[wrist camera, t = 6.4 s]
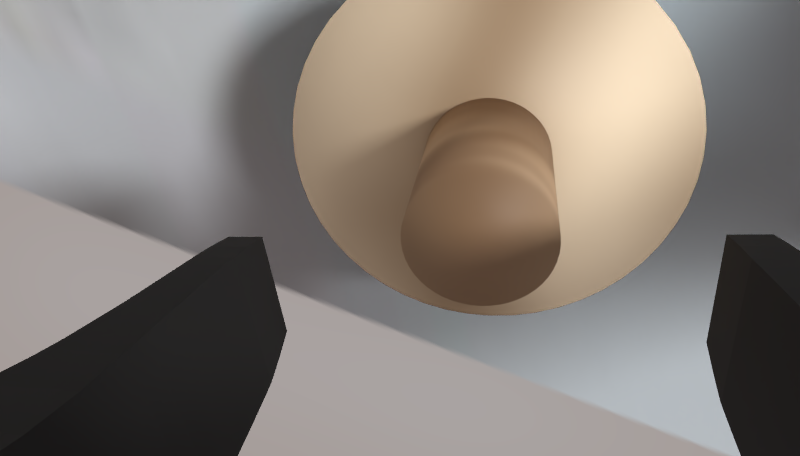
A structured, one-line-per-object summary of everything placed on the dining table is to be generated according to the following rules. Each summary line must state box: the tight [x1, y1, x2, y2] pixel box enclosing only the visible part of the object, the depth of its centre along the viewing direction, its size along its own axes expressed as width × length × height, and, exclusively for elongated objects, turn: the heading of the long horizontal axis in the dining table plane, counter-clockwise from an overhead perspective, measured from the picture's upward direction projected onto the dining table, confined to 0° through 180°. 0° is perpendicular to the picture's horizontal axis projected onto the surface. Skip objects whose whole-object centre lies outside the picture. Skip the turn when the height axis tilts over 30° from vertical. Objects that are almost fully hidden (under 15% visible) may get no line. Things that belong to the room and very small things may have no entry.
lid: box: [293, 0, 707, 315], centre depth 13 cm, size 9×9×4 cm
